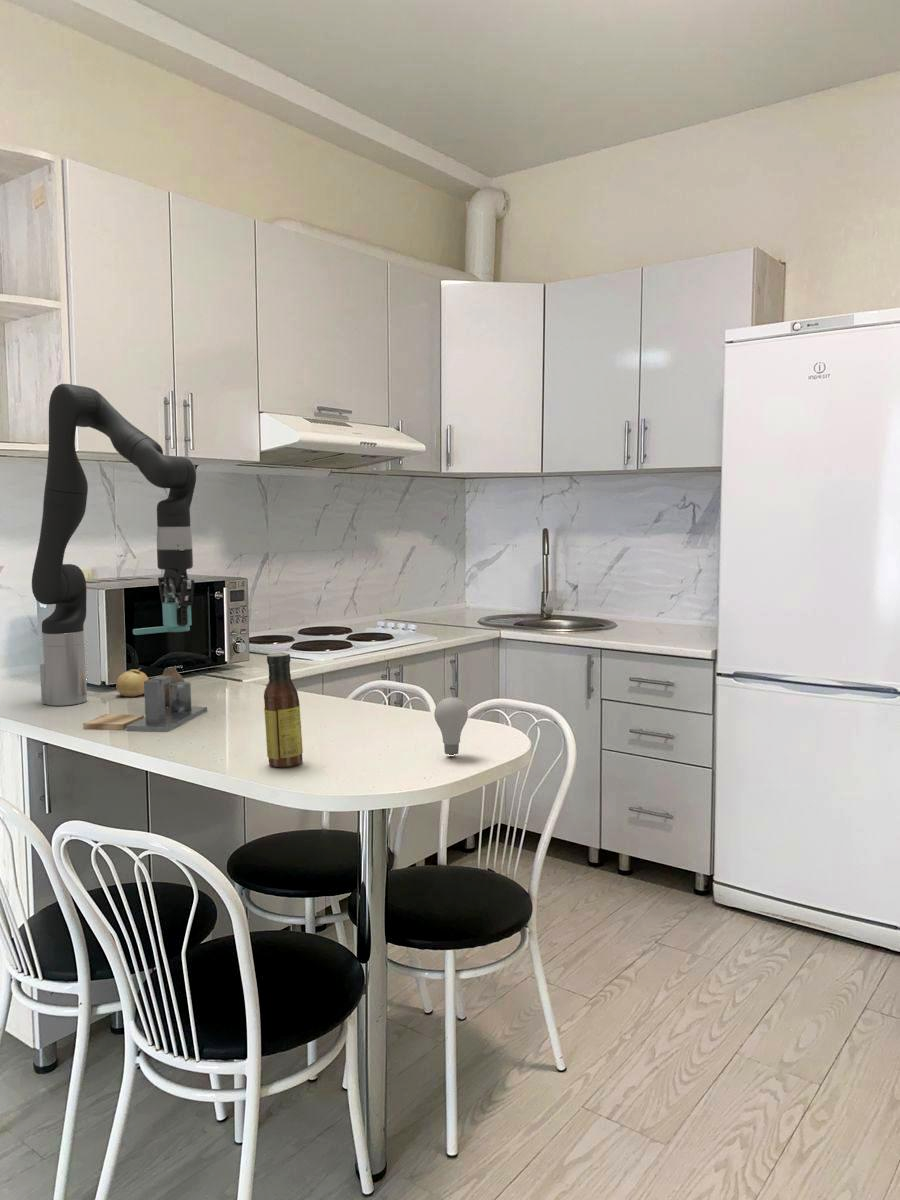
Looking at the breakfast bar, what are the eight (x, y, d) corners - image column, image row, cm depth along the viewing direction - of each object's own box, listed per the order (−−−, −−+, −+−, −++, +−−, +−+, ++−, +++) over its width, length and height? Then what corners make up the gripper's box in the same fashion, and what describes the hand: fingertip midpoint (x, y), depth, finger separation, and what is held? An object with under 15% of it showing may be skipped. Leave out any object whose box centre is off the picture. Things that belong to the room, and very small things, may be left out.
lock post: (126, 730, 190) (124, 683, 189) (170, 710, 210) (168, 667, 209) (167, 731, 189) (165, 684, 188) (207, 711, 209) (205, 667, 208)
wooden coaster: (83, 728, 192) (83, 723, 192) (105, 719, 201) (105, 714, 201) (123, 730, 191) (123, 724, 191) (144, 720, 200) (143, 715, 200)
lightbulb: (465, 762, 163) (464, 701, 162) (431, 760, 164) (431, 700, 163) (470, 753, 169) (470, 694, 168) (438, 752, 170) (437, 693, 169)
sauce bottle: (307, 760, 166) (304, 651, 164) (296, 769, 160) (293, 656, 158) (273, 758, 167) (269, 651, 165) (260, 768, 161) (257, 656, 159)
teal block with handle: (129, 633, 199) (128, 605, 199) (183, 628, 207) (182, 601, 207) (139, 635, 195) (138, 607, 195) (193, 630, 203) (192, 602, 203)
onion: (112, 699, 224) (110, 670, 224) (122, 692, 232) (121, 665, 232) (144, 698, 225) (143, 670, 224) (154, 692, 233) (153, 664, 232)
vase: (181, 707, 213) (180, 670, 212) (152, 708, 213) (150, 670, 212) (190, 701, 220) (189, 665, 219) (162, 702, 220) (160, 666, 219)
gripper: (144, 547, 205) (147, 622, 206) (172, 548, 194) (175, 628, 196) (176, 546, 210) (179, 620, 211) (205, 547, 199) (207, 625, 201)
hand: (177, 623), depth 204 cm, fingers closed on teal block with handle, 4 cm apart
